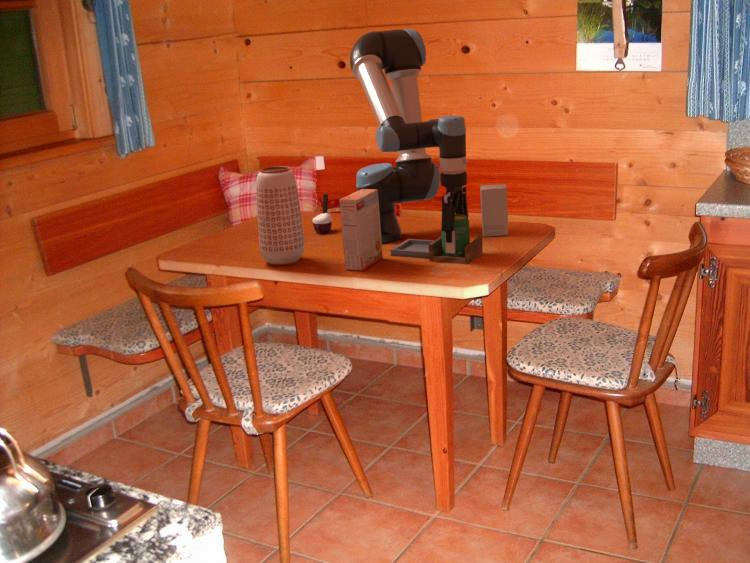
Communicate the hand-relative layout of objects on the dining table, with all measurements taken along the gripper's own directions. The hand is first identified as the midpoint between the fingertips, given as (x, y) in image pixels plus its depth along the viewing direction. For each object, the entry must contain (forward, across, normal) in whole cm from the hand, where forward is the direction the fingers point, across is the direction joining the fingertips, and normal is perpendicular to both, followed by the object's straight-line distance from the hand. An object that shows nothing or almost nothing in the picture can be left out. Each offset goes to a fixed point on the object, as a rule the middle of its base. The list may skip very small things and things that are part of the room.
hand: (456, 248), depth 250 cm
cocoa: (+3, +18, +55) cm, 57 cm away
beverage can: (+3, 0, 0) cm, 3 cm away
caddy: (+2, 0, 0) cm, 2 cm away
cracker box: (+3, -14, +24) cm, 27 cm away
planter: (+3, -18, +48) cm, 52 cm away
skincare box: (+3, +28, -2) cm, 28 cm away
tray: (+2, +3, +13) cm, 14 cm away
